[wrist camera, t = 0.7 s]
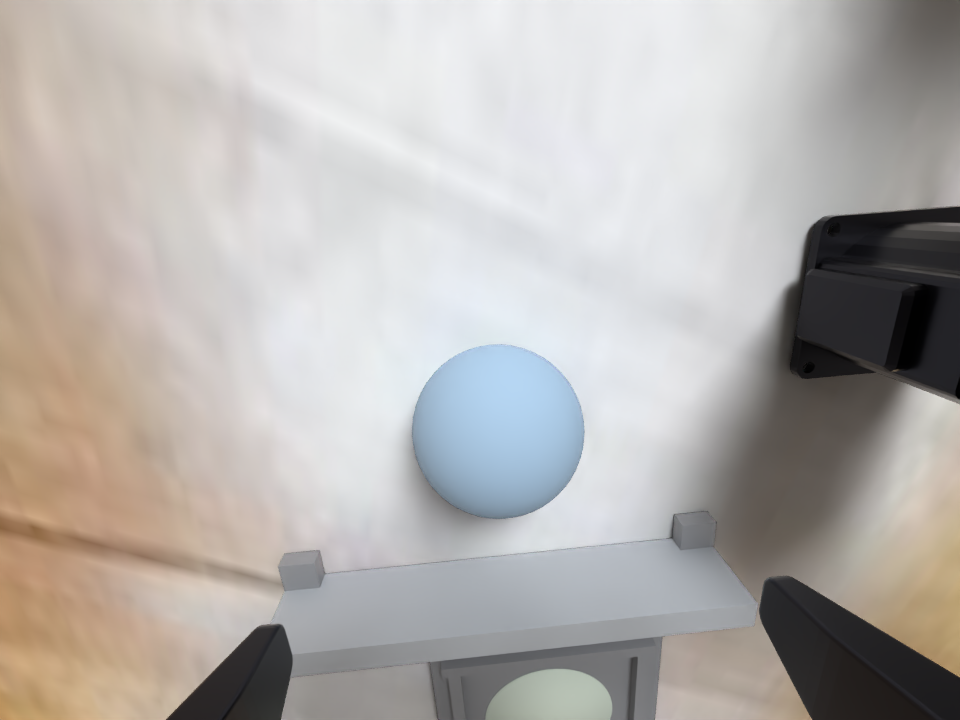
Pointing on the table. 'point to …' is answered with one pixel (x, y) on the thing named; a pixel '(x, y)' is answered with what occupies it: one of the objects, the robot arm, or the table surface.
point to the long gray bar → (509, 602)
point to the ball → (498, 431)
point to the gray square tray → (552, 683)
